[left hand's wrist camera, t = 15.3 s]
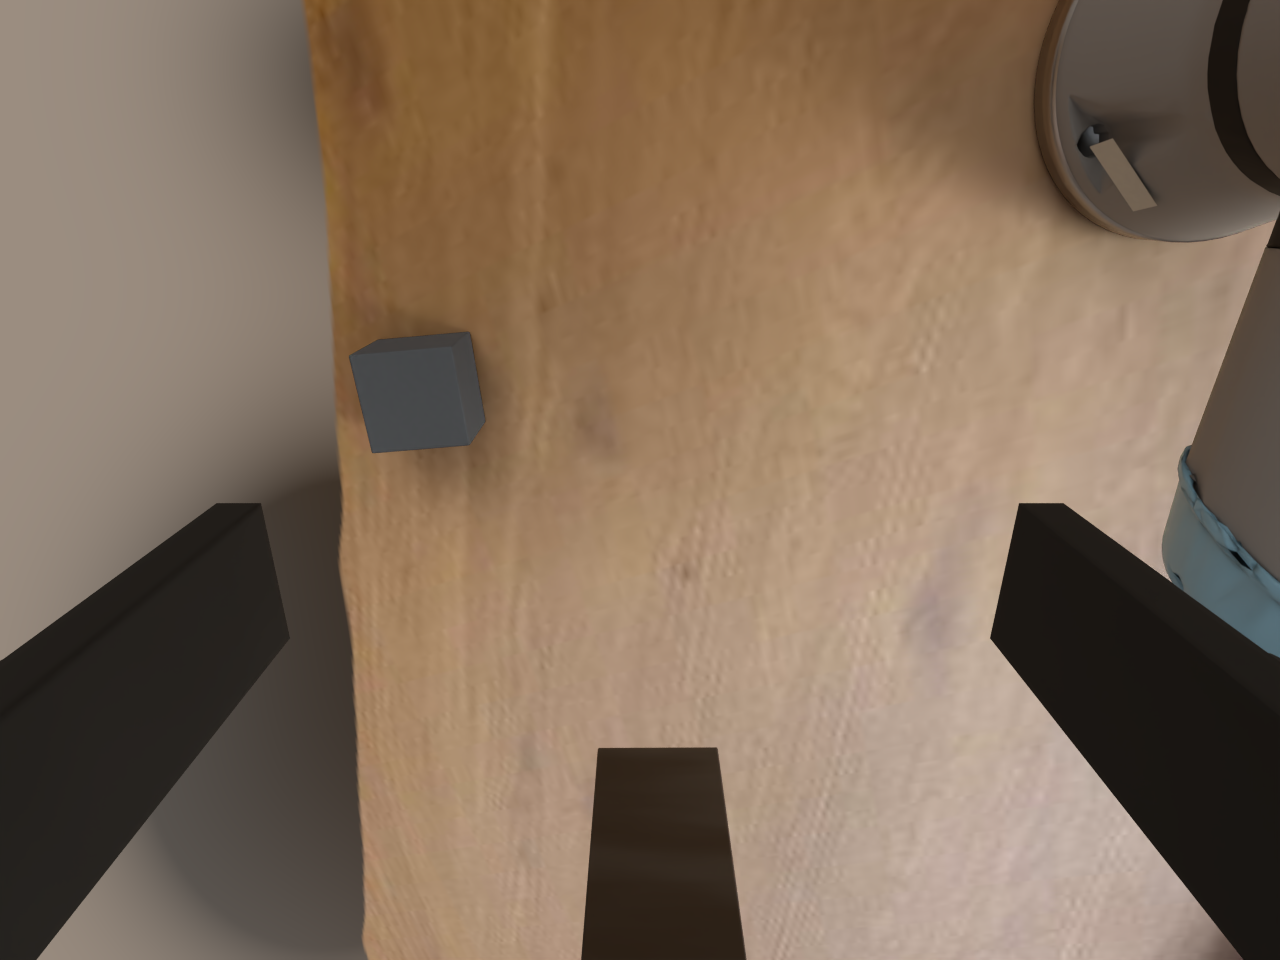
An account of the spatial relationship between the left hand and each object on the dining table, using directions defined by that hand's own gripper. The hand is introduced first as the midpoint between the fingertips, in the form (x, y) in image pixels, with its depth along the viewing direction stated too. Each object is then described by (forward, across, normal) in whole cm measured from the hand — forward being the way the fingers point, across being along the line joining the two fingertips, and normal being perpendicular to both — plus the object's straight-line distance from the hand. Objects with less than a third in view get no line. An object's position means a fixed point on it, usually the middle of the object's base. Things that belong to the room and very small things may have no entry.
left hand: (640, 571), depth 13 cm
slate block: (+27, -11, -3) cm, 29 cm away
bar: (+12, +1, -27) cm, 30 cm away
